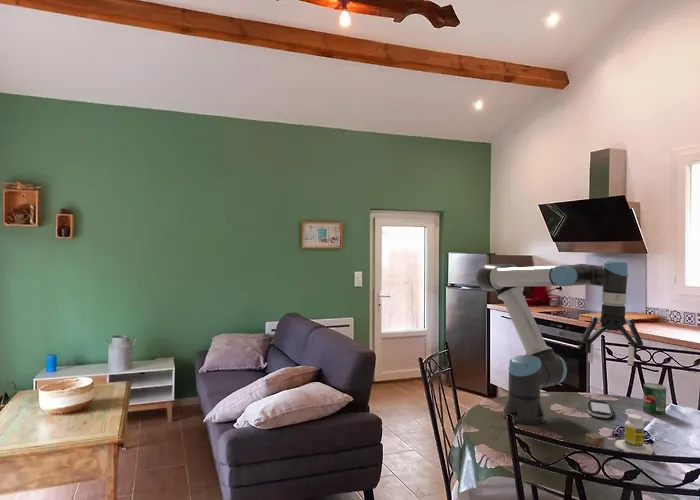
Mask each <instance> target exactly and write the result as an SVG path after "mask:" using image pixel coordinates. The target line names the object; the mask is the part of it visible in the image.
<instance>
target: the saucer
mask: <svg viewBox="0 0 700 500" xmlns="http://www.w3.org/2000/svg"><path fill="white" fill-rule="evenodd" d="M614 446H615V447H616V449H618V448H619V449H622V450H624V451H630V452H636V453H647V454H652V453H653V454H654V448H653V447H652V446H650V445H649V444H646V443H645V442H643V447H642V448H632V447H629V446H627V445H626V444H625V443H624V439H617V440H616V441H615V442H614ZM619 449H618V450H619ZM653 454H652V455H653Z"/></svg>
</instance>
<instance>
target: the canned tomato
mask: <svg viewBox="0 0 700 500" xmlns="http://www.w3.org/2000/svg"><path fill="white" fill-rule="evenodd" d="M642 394H643V397H642V404H643V405H642V412H643V413H645V414H646V415H651V416H655V417H664V416H666V415H665V414H666V410H667V409H666V405H667V386H665V385H663V384H658V383H654V382H653V383H652V382H647V383H644V384H643V393H642Z"/></svg>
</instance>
